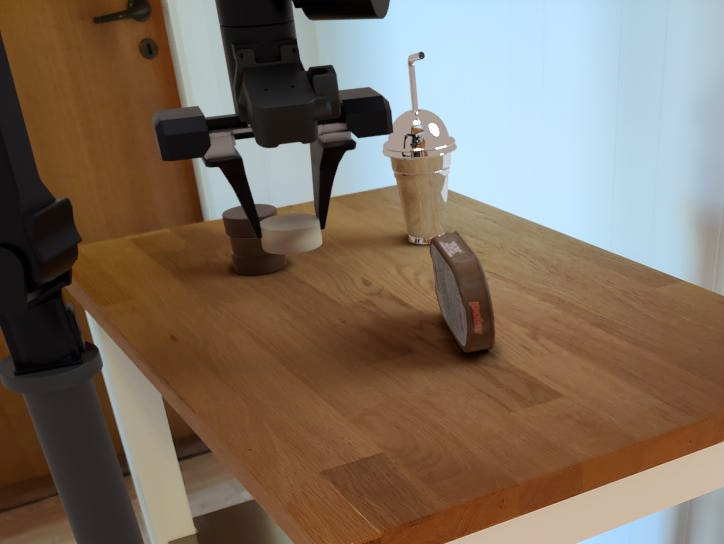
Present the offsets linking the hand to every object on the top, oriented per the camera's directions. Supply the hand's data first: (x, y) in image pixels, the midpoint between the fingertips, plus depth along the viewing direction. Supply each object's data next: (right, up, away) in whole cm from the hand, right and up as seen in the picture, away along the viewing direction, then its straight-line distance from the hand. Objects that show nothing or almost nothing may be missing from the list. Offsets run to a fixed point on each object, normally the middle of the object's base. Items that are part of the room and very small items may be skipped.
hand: (290, 233), depth 86 cm
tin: (+15, -7, +8) cm, 18 cm away
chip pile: (-9, +8, +28) cm, 30 cm away
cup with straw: (+10, +12, +33) cm, 36 cm away
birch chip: (0, -1, +1) cm, 1 cm away
